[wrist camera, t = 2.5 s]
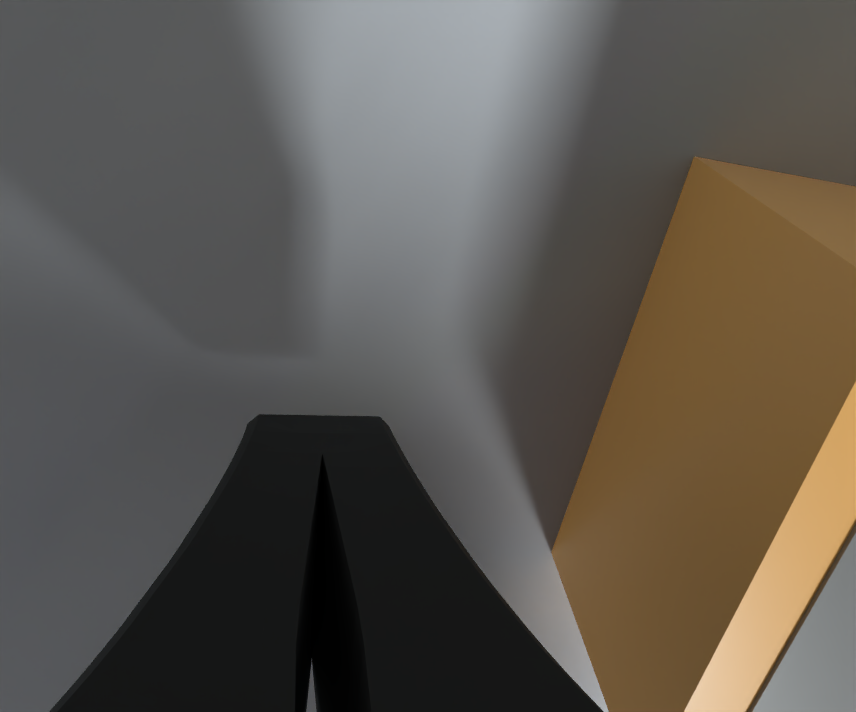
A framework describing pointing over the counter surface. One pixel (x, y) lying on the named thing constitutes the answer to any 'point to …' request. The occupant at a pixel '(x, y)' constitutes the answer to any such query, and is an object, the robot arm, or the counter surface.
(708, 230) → the orange square frame
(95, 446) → the counter surface
